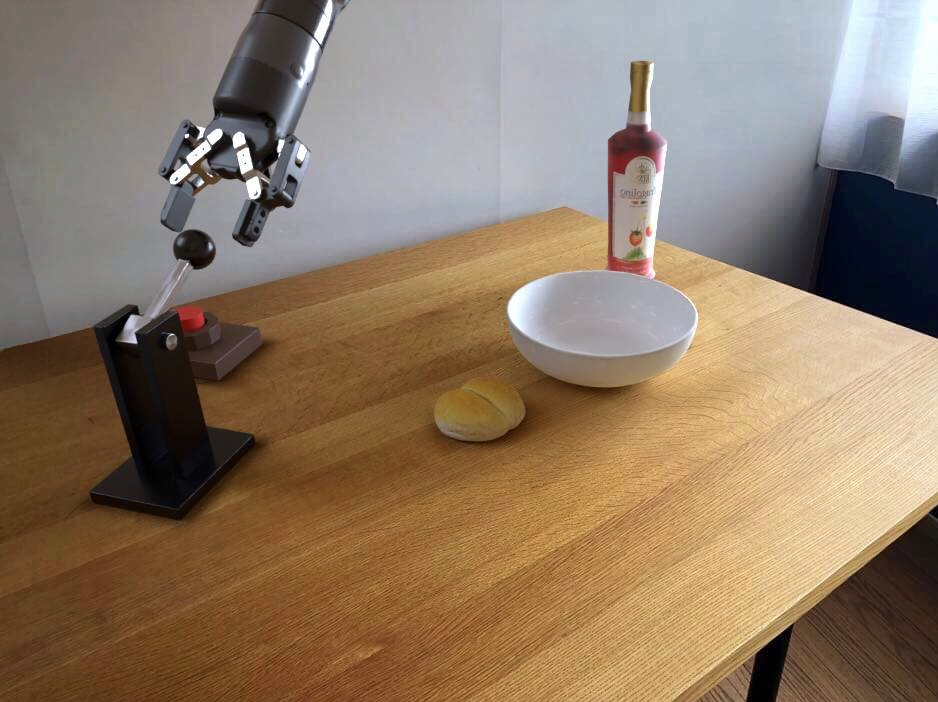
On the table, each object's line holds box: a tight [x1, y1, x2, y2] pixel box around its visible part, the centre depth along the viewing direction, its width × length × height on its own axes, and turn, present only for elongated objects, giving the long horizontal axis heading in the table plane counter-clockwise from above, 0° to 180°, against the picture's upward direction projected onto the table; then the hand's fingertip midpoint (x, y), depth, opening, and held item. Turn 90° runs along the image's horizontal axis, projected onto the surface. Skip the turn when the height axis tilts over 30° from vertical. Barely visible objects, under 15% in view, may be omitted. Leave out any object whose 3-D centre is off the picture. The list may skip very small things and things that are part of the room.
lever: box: [115, 228, 217, 359], centre depth 75 cm, size 13×4×4 cm, turn 164°
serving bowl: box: [505, 269, 699, 388], centre depth 95 cm, size 21×21×7 cm
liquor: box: [603, 60, 668, 279], centre depth 109 cm, size 7×7×28 cm
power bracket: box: [88, 303, 257, 521], centre depth 75 cm, size 12×9×16 cm
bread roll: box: [433, 376, 527, 442], centre depth 86 cm, size 8×9×4 cm
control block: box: [183, 310, 263, 382], centre depth 98 cm, size 12×9×4 cm
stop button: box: [173, 305, 205, 332], centre depth 96 cm, size 4×4×2 cm
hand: (204, 235), depth 78 cm, fingers open, 8 cm apart
